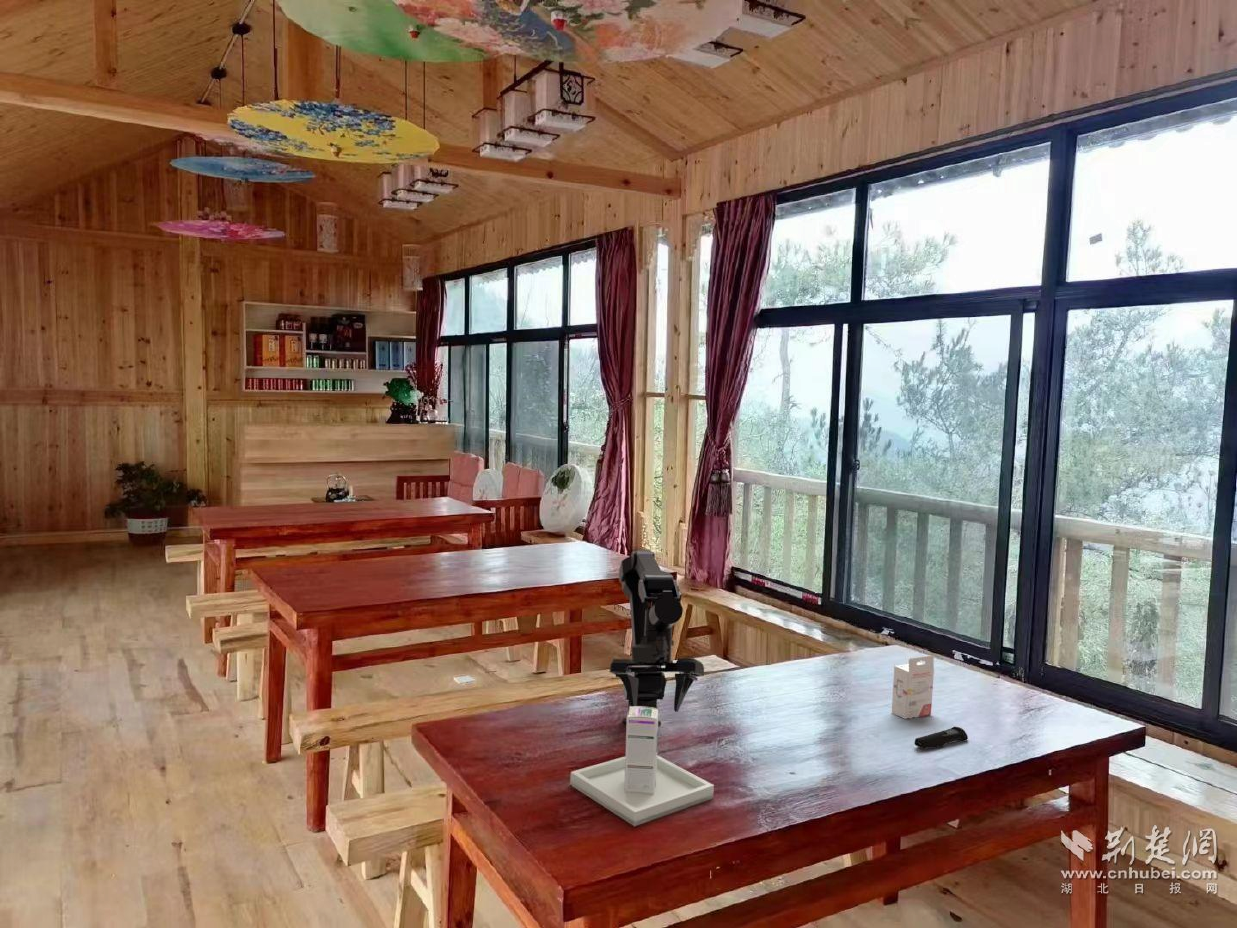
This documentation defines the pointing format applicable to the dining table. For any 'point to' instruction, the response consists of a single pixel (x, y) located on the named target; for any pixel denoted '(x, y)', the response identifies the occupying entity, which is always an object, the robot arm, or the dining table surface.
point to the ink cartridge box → (913, 688)
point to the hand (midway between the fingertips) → (654, 711)
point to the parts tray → (637, 808)
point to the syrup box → (641, 749)
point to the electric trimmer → (941, 738)
